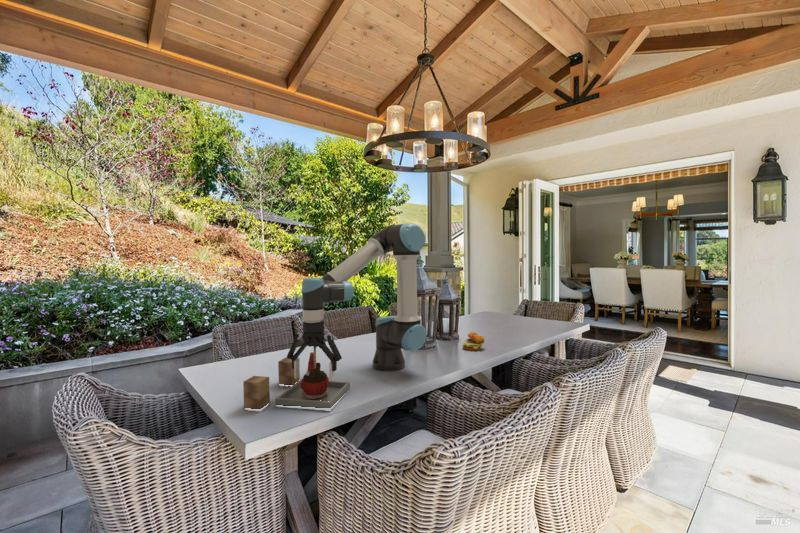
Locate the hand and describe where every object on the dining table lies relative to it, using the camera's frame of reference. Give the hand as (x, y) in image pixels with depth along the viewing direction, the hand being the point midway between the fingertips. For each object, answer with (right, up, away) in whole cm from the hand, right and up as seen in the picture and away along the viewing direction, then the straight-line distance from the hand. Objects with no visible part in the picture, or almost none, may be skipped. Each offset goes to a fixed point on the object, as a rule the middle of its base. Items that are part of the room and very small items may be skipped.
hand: (314, 378), depth 139 cm
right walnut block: (-13, -7, +15) cm, 21 cm away
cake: (0, -6, 0) cm, 6 cm away
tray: (0, -7, 0) cm, 7 cm away
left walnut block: (-18, -8, -8) cm, 21 cm away
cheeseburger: (+71, -4, +67) cm, 97 cm away
